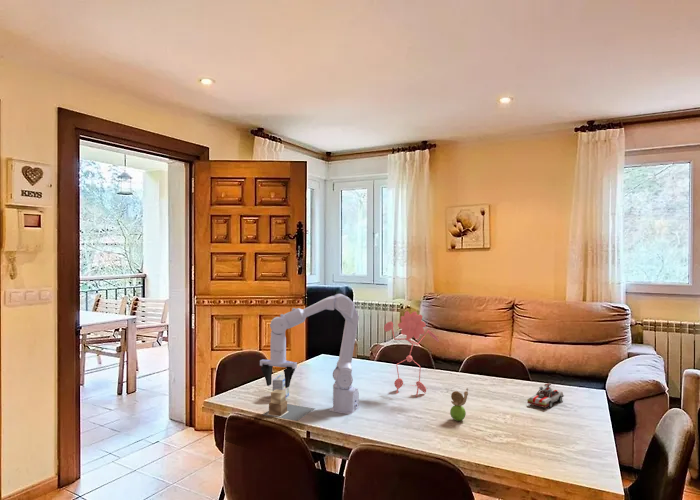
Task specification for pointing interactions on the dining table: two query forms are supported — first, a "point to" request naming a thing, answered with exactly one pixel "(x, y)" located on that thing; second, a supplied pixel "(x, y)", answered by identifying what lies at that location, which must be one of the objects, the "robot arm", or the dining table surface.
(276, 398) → the beech brick
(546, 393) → the toy car
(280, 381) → the medicine box
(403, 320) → the figurine
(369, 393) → the dining table surface
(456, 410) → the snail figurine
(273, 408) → the walnut brick
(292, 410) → the mat
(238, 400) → the dining table surface
